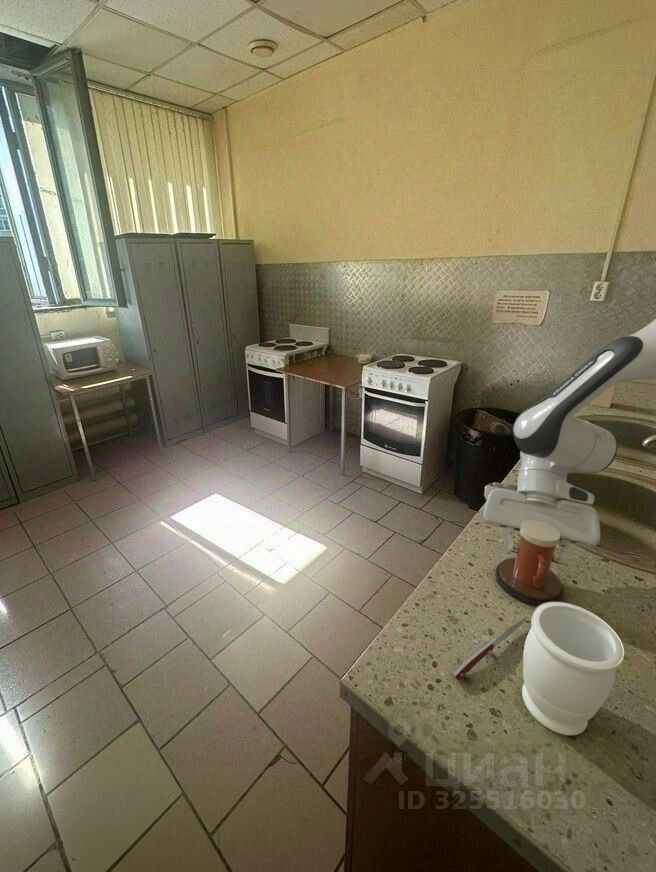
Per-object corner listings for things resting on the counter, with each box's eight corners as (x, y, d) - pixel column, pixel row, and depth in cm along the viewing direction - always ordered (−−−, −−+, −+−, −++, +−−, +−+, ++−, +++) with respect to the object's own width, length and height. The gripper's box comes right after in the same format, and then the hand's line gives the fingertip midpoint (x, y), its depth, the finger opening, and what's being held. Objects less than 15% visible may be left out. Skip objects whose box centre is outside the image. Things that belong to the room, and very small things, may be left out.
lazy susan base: (547, 565, 85) (548, 561, 85) (573, 610, 74) (575, 606, 74) (488, 560, 87) (489, 556, 87) (505, 603, 76) (506, 599, 76)
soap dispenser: (585, 404, 177) (598, 355, 169) (588, 399, 183) (600, 352, 175) (621, 409, 169) (636, 359, 161) (623, 404, 175) (637, 355, 167)
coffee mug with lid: (495, 556, 87) (504, 509, 82) (552, 566, 83) (565, 518, 79) (502, 593, 77) (513, 542, 73) (567, 606, 74) (583, 554, 69)
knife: (456, 687, 62) (458, 673, 60) (449, 680, 63) (451, 667, 61) (529, 625, 71) (532, 613, 70) (522, 620, 72) (525, 608, 71)
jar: (531, 659, 65) (549, 589, 60) (606, 708, 58) (634, 634, 53) (501, 702, 59) (518, 628, 54) (581, 764, 52) (610, 686, 46)
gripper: (487, 475, 84) (478, 540, 79) (604, 497, 75) (602, 571, 71) (484, 484, 89) (476, 545, 85) (594, 504, 81) (591, 574, 76)
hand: (534, 557), depth 78 cm, fingers closed on coffee mug with lid, 6 cm apart
